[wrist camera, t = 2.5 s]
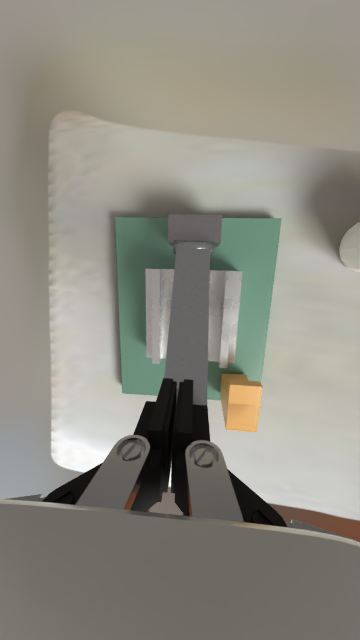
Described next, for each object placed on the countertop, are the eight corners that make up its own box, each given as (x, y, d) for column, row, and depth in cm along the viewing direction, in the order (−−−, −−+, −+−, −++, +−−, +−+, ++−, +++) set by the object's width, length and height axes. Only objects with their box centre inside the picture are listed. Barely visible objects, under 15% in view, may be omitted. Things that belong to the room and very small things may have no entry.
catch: (247, 359, 26) (262, 386, 20) (243, 396, 27) (256, 432, 21) (222, 358, 26) (229, 384, 20) (220, 394, 28) (226, 429, 22)
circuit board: (276, 221, 24) (281, 218, 23) (255, 396, 29) (258, 402, 28) (119, 220, 25) (114, 217, 24) (125, 387, 30) (122, 393, 29)
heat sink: (242, 223, 23) (251, 213, 19) (231, 354, 26) (236, 368, 23) (150, 222, 24) (140, 213, 20) (151, 349, 27) (143, 363, 23)
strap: (174, 246, 20) (173, 237, 19) (213, 247, 20) (214, 237, 19) (158, 413, 15) (156, 413, 14) (210, 417, 15) (211, 417, 14)
